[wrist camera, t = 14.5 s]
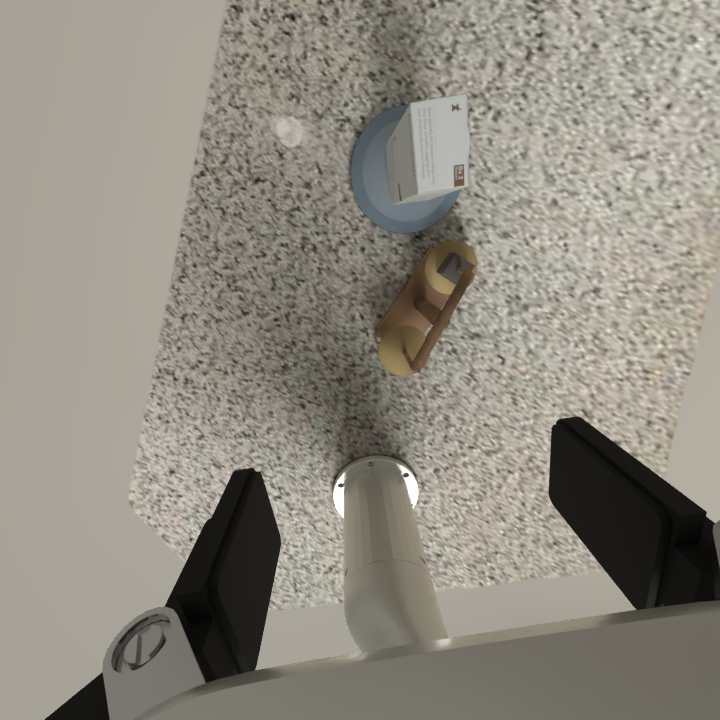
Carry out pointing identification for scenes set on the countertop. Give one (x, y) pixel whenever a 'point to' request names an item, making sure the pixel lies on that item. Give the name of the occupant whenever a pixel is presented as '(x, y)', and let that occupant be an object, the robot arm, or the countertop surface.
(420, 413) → the countertop surface
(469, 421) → the countertop surface
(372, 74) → the countertop surface
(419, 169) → the skincare box
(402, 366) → the balance
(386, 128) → the dish
